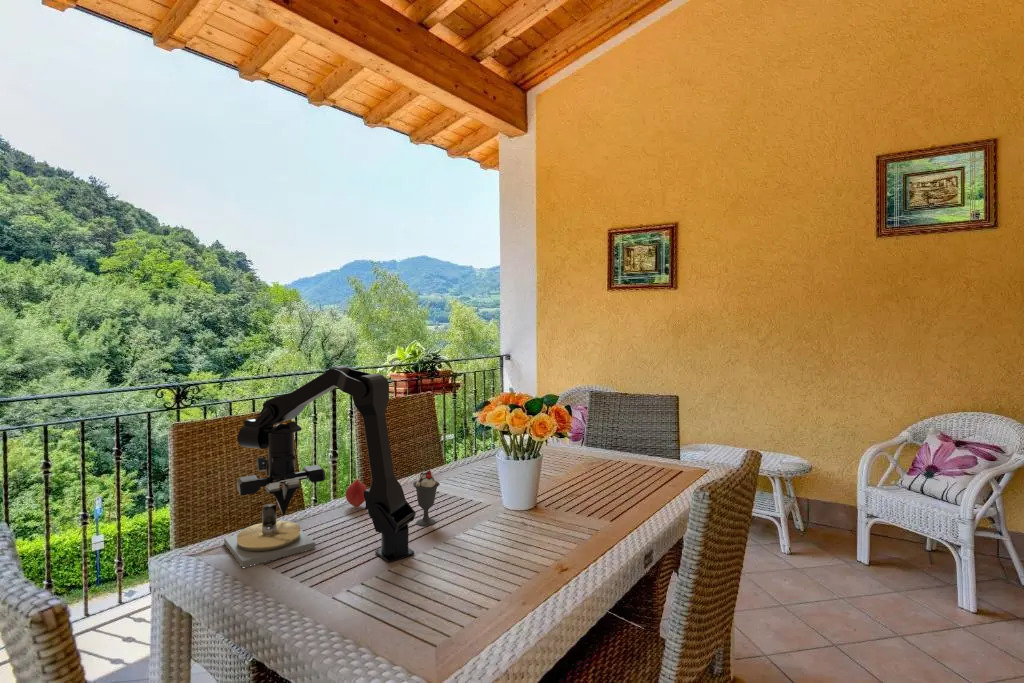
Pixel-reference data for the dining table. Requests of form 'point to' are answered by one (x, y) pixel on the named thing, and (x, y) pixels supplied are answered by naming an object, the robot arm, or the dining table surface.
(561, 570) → the dining table surface
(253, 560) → the base plate
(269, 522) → the handwheel
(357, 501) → the onion
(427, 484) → the sundae
